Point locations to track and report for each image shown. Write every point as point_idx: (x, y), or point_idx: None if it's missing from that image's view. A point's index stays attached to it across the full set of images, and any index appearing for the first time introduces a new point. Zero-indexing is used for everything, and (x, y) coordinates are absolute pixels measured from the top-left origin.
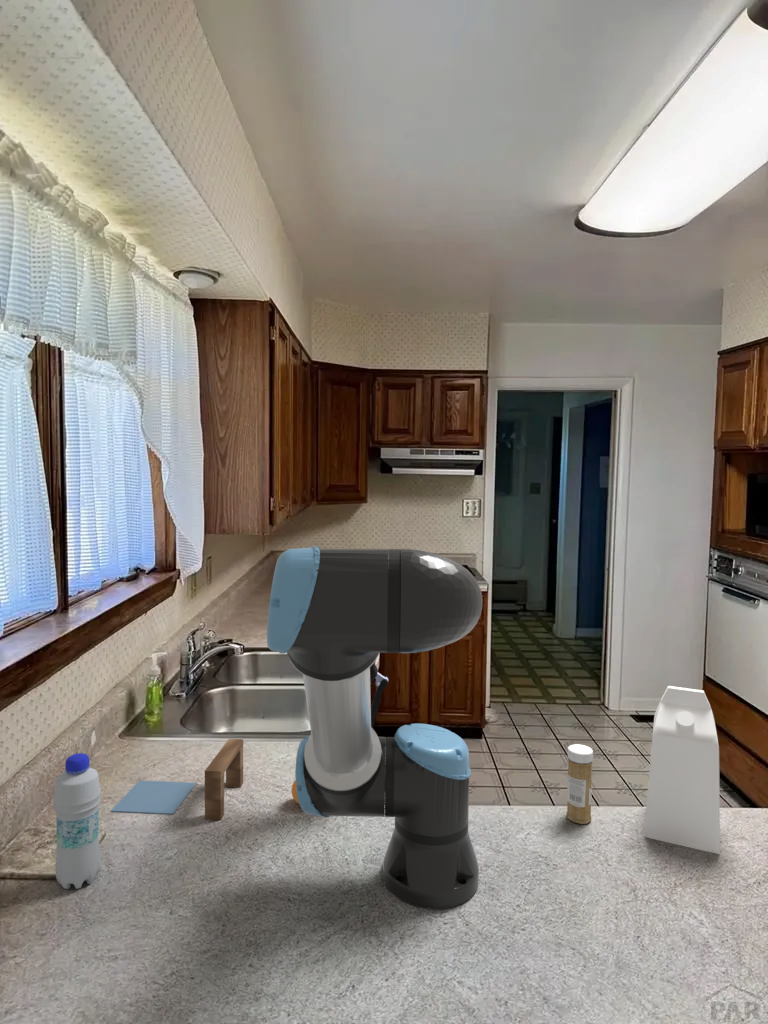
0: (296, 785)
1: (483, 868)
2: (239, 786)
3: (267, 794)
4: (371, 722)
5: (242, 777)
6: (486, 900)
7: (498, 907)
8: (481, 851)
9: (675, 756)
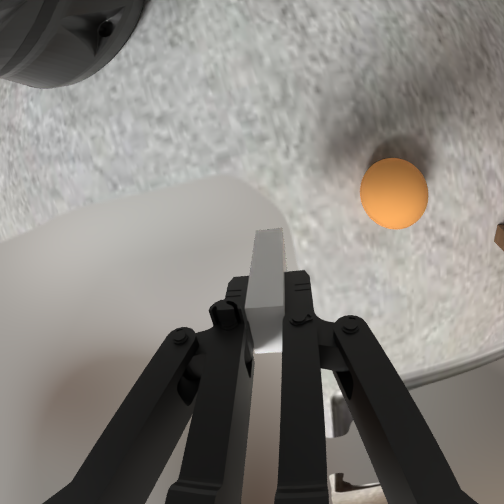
0: (420, 179)
1: None
2: (499, 225)
3: (458, 207)
4: (173, 347)
5: (501, 243)
6: None
7: None
8: (23, 116)
9: None
